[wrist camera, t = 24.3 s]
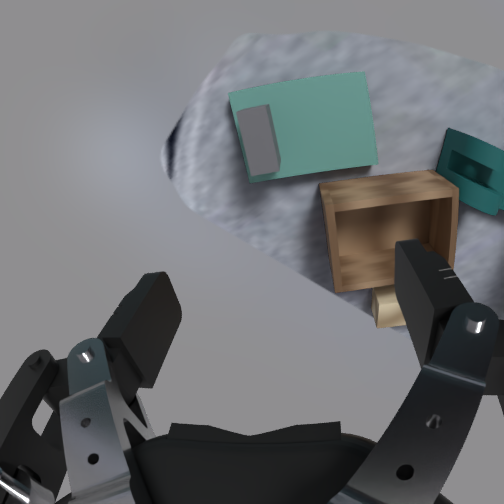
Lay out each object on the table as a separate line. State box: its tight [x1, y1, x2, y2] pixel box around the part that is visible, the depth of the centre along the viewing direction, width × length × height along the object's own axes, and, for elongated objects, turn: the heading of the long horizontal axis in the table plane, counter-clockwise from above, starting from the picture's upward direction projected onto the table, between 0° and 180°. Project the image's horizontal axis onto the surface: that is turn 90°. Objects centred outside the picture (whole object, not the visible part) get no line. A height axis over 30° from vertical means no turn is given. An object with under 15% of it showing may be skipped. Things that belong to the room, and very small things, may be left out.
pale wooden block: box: [371, 284, 406, 328], centre depth 39 cm, size 4×10×4 cm, turn 99°
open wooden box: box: [319, 170, 459, 293], centre depth 33 cm, size 14×10×7 cm
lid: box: [228, 72, 378, 183], centre depth 29 cm, size 14×10×7 cm
